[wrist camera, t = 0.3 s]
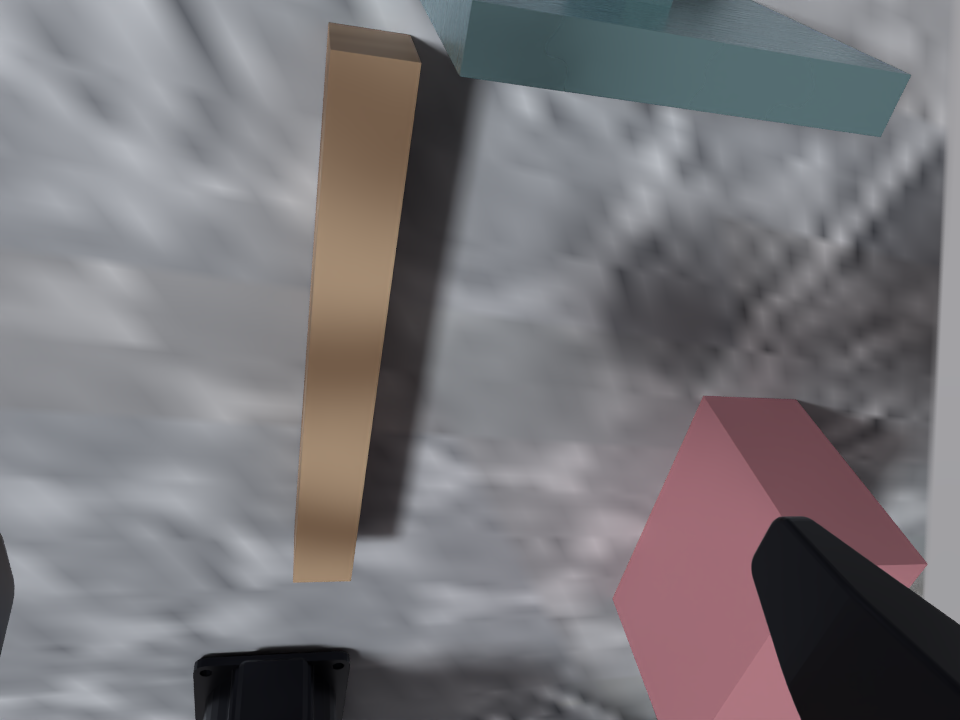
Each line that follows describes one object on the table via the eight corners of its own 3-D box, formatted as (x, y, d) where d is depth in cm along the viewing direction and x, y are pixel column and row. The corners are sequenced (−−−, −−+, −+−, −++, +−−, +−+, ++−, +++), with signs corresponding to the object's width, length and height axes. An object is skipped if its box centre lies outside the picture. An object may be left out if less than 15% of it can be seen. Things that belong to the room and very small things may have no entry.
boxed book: (689, 594, 36) (769, 764, 30) (612, 597, 35) (677, 773, 29) (795, 398, 29) (927, 564, 23) (702, 394, 28) (814, 566, 22)
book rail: (348, 527, 29) (350, 581, 27) (294, 527, 28) (293, 582, 26) (410, 35, 19) (421, 63, 17) (328, 22, 18) (330, 49, 16)
